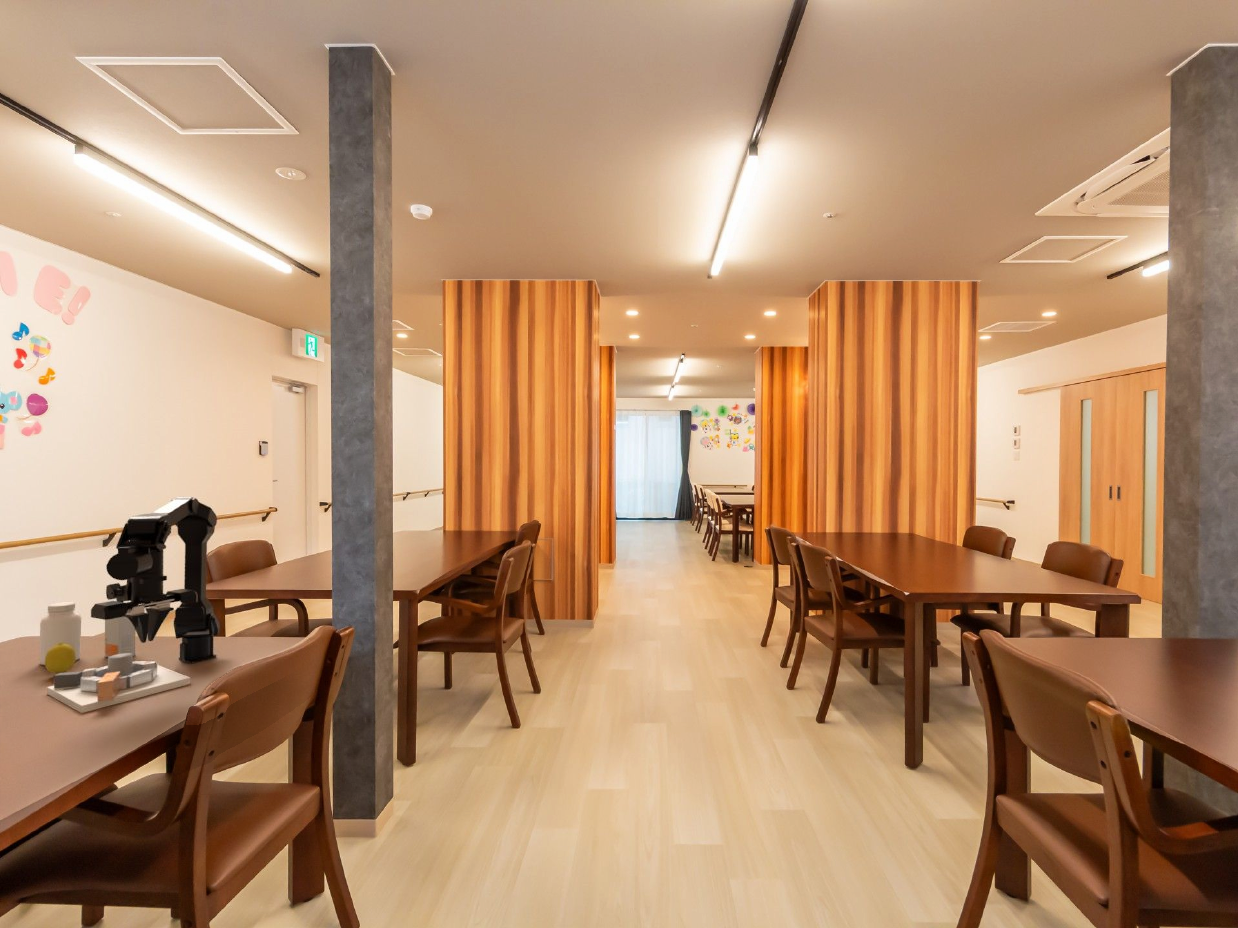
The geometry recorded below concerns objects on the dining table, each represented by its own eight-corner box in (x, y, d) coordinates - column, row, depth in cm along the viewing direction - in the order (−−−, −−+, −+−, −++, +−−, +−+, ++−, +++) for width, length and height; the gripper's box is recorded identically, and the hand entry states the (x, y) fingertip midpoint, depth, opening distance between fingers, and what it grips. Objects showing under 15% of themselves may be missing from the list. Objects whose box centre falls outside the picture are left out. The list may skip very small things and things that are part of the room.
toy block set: (91, 677, 142) (91, 660, 142) (160, 668, 149) (160, 652, 149) (64, 706, 125) (65, 686, 125) (143, 695, 132) (143, 676, 132)
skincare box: (103, 657, 163) (104, 612, 163) (121, 652, 167) (121, 609, 167) (118, 659, 161) (118, 614, 161) (136, 655, 165) (136, 610, 165)
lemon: (56, 680, 145) (57, 646, 145) (38, 678, 146) (38, 645, 146) (81, 672, 151) (81, 640, 151) (63, 670, 152) (64, 638, 152)
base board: (151, 668, 154) (152, 638, 154) (189, 683, 143) (190, 651, 143) (47, 693, 137) (47, 660, 137) (81, 712, 126) (81, 676, 126)
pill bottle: (85, 659, 160) (86, 602, 161) (45, 668, 154) (45, 608, 154) (74, 654, 165) (75, 599, 165) (34, 662, 158) (35, 604, 158)
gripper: (169, 563, 148) (169, 627, 148) (76, 576, 131) (76, 648, 131) (199, 566, 143) (198, 632, 143) (106, 580, 126) (106, 655, 126)
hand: (146, 641), depth 136 cm, fingers closed
